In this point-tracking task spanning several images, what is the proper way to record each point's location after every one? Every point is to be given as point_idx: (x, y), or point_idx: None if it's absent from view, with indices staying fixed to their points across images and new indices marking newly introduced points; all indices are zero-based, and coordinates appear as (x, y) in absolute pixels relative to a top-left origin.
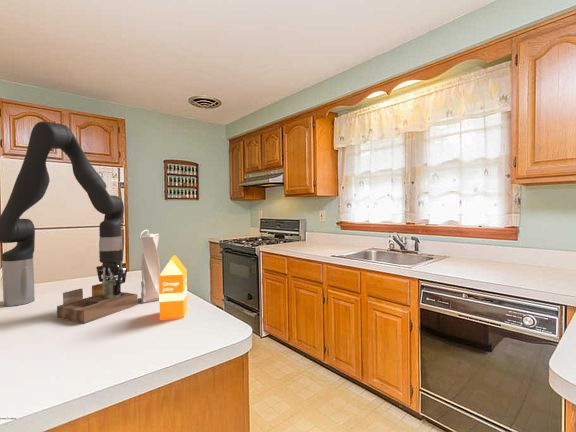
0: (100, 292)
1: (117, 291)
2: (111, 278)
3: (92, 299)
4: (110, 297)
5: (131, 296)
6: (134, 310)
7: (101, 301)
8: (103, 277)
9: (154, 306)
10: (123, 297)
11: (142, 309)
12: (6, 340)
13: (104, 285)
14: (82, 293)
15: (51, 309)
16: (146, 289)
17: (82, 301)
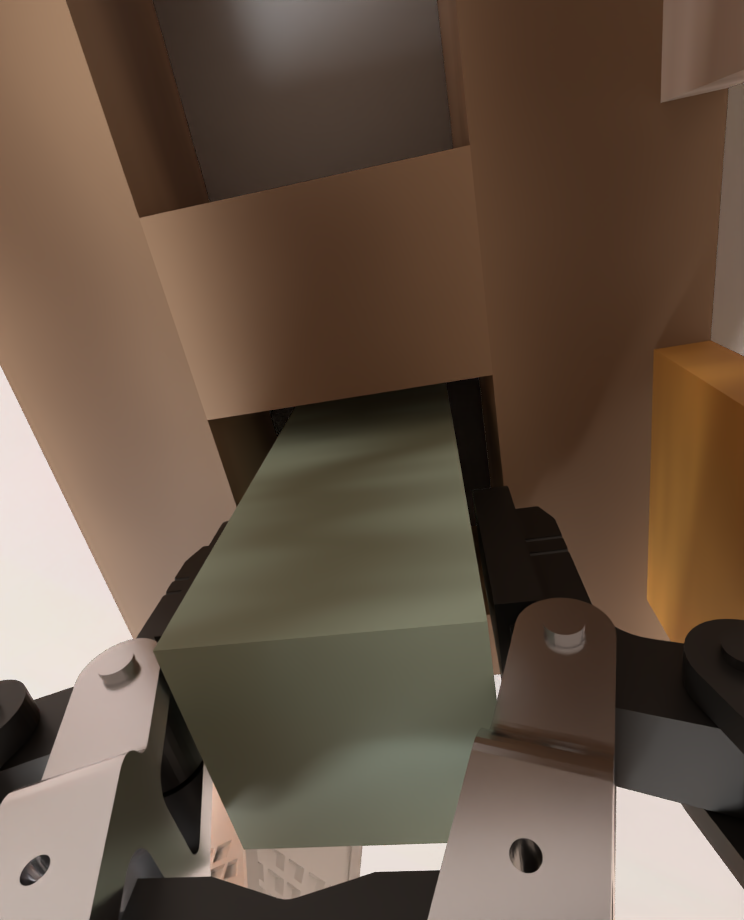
0: (666, 490)
1: (179, 579)
2: (84, 782)
3: (475, 236)
4: (272, 455)
5: (131, 628)
6: (37, 496)
7: (184, 268)
8: (521, 761)
9: (28, 642)
10: (148, 556)
11: (13, 549)
12: None
13: (415, 554)
14: (735, 61)
15: None
16: (230, 824)
17: (526, 24)
